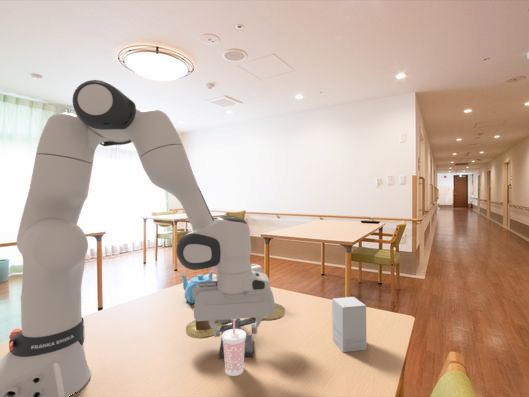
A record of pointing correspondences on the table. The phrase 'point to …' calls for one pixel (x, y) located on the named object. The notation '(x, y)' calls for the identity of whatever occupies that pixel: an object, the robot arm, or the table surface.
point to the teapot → (189, 286)
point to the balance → (208, 333)
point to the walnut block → (202, 325)
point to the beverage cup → (234, 350)
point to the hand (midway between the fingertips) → (235, 334)
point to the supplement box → (349, 324)
